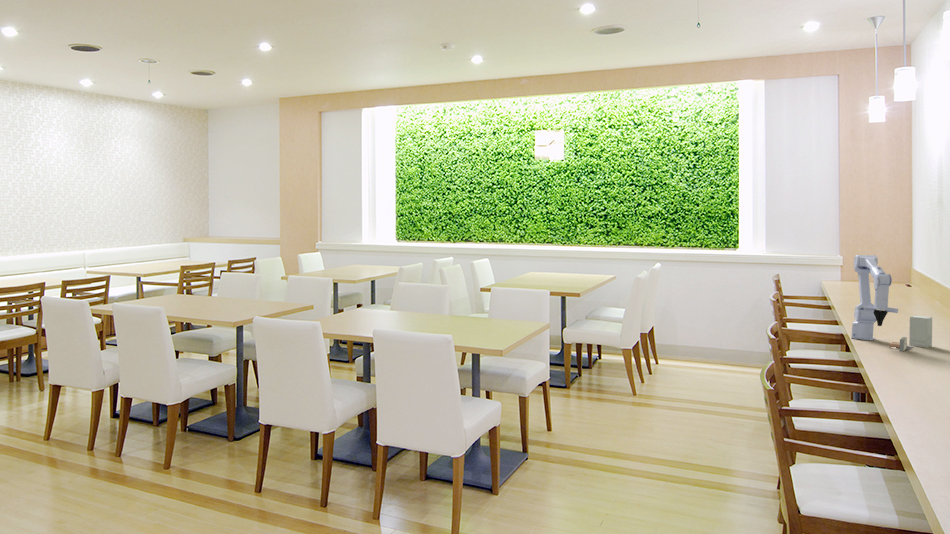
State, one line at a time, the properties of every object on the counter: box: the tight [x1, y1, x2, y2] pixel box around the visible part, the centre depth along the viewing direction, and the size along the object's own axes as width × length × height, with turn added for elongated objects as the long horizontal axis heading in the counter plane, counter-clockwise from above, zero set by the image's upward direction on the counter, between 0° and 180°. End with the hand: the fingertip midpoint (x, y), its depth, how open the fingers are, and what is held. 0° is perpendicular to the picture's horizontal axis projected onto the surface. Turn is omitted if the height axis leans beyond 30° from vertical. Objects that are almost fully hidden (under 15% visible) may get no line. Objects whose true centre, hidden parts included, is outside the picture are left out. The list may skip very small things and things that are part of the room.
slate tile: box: [898, 336, 908, 353], centre depth 321 cm, size 2×6×6 cm, turn 136°
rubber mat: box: [897, 345, 914, 351], centre depth 328 cm, size 8×10×1 cm
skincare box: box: [908, 315, 933, 349], centre depth 332 cm, size 8×6×15 cm
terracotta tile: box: [889, 341, 900, 348], centre depth 329 cm, size 2×6×6 cm
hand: (879, 325), depth 330 cm, fingers closed
